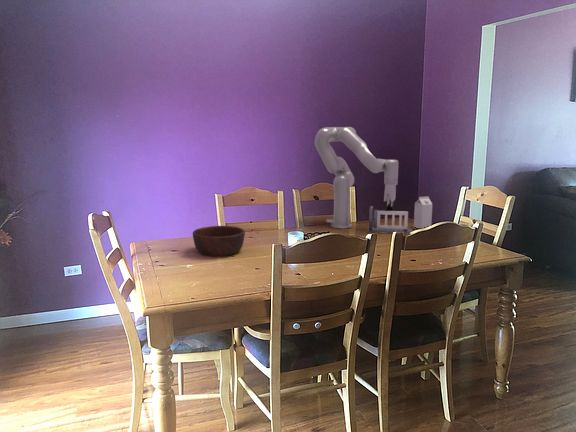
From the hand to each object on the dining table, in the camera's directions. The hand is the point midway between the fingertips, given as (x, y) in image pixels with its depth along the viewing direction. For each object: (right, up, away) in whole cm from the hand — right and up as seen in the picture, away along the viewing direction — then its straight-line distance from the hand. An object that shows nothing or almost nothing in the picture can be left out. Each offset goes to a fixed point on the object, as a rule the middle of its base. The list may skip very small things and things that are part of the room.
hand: (389, 213), depth 288 cm
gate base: (0, -10, -1) cm, 10 cm away
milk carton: (+21, -9, +7) cm, 24 cm away
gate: (0, -9, -1) cm, 9 cm away
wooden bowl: (-92, -19, -43) cm, 103 cm away
